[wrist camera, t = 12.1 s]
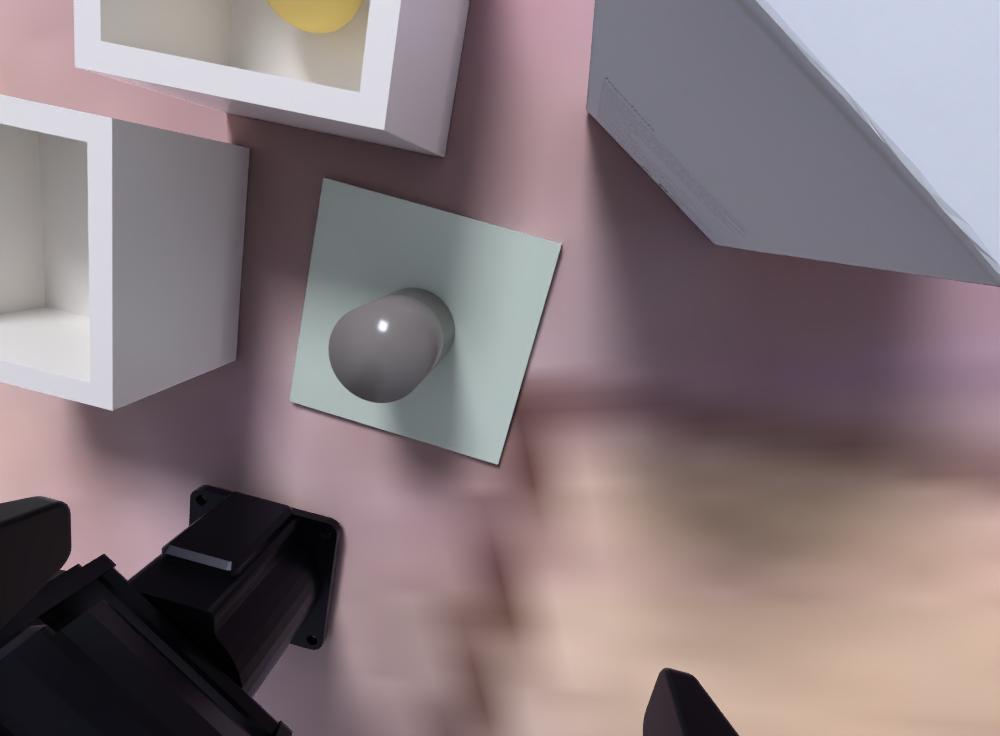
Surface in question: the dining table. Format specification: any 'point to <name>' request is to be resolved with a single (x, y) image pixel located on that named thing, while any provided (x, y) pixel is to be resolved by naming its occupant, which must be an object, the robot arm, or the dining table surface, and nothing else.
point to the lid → (419, 319)
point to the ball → (316, 13)
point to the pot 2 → (289, 63)
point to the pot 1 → (115, 254)
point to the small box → (815, 124)
